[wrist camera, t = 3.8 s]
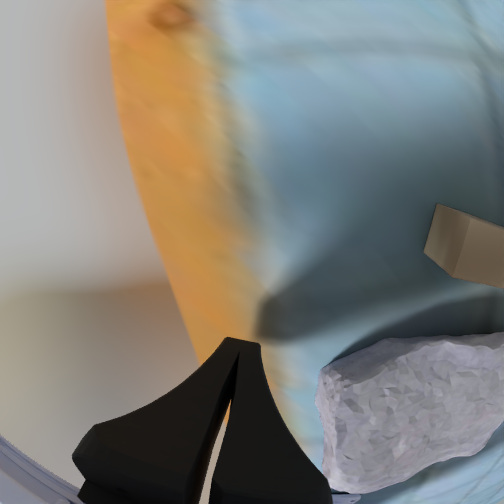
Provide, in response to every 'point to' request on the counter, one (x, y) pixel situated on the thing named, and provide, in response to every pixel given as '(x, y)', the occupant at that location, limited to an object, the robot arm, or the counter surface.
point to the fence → (466, 246)
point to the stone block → (408, 407)
